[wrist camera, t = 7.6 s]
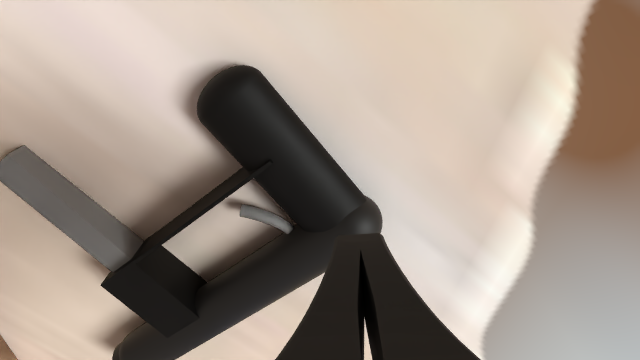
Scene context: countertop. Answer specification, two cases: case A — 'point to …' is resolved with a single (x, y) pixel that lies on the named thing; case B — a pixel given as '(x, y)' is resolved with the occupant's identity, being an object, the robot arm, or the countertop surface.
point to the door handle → (162, 266)
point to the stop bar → (5, 351)
